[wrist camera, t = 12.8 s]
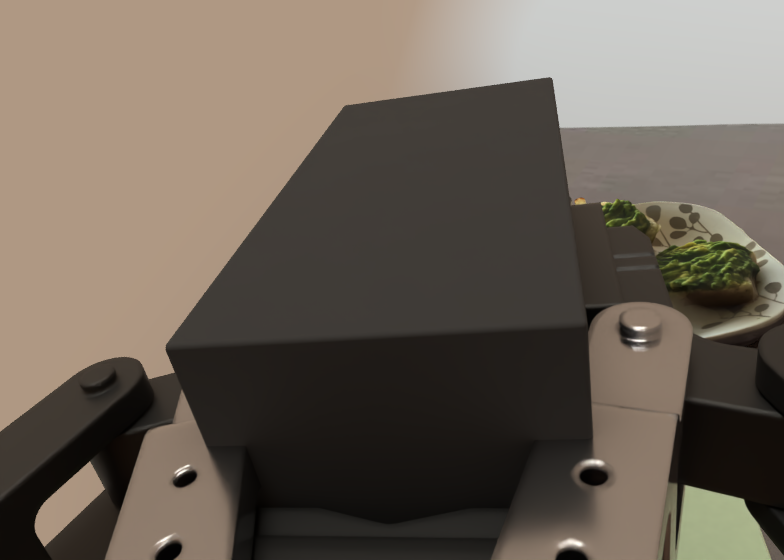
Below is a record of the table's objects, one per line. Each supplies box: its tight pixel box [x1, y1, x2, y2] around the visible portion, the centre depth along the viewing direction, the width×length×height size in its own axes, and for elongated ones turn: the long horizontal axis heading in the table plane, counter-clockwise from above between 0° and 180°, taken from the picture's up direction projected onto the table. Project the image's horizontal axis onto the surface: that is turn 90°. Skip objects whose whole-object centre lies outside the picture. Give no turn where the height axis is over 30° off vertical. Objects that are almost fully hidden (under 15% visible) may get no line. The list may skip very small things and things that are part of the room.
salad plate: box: [569, 197, 784, 347], centre depth 42 cm, size 19×18×5 cm
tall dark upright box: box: [166, 77, 593, 524], centre depth 12 cm, size 4×8×9 cm, turn 171°
